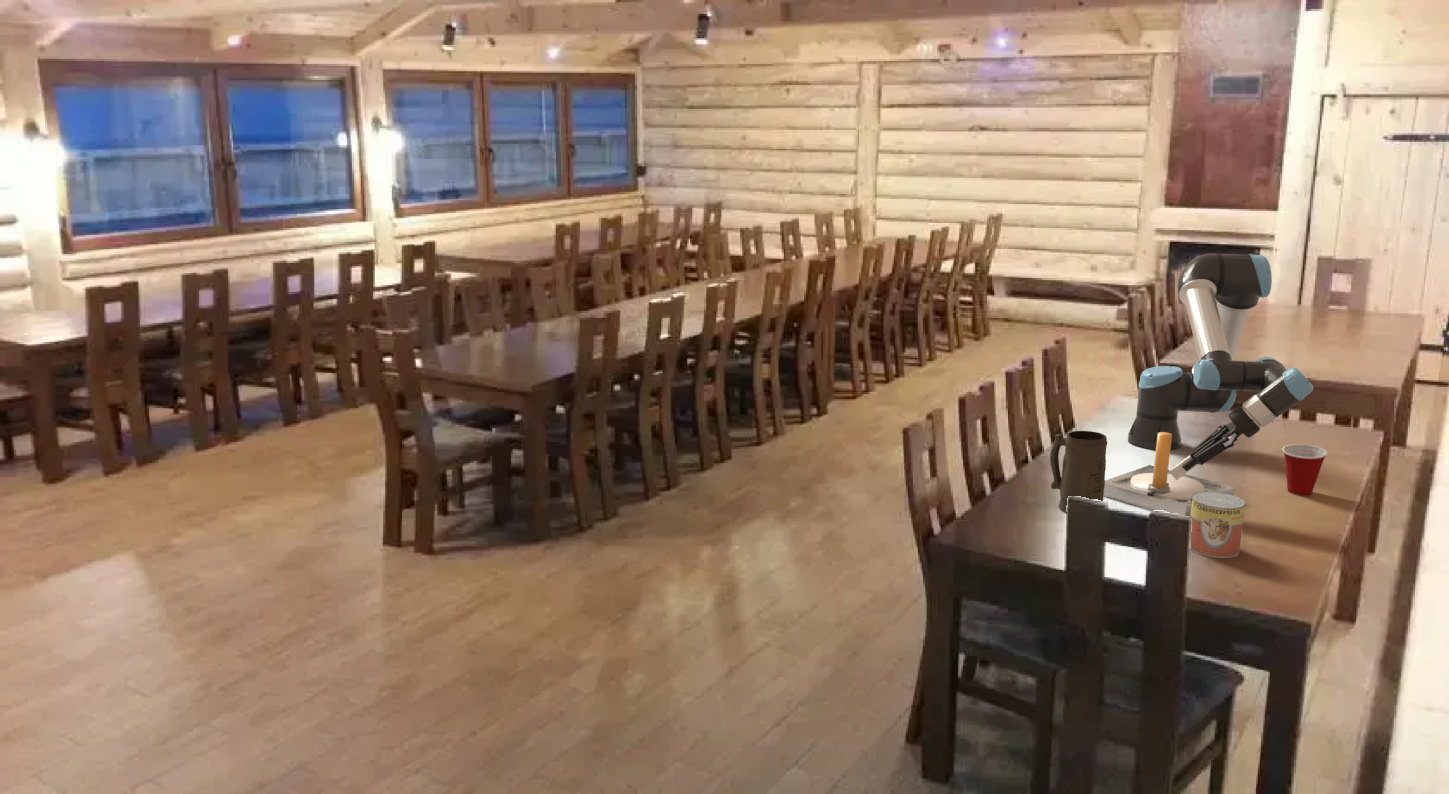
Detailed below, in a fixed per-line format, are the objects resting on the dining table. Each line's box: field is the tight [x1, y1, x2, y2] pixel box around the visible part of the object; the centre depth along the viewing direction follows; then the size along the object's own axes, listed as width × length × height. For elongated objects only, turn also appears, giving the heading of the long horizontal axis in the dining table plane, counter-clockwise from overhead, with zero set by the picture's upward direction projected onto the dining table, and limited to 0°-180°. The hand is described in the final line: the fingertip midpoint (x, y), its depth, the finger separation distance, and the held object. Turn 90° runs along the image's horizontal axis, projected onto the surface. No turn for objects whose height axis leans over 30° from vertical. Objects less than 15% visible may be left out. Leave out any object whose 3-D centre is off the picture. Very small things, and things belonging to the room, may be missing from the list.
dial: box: [1130, 432, 1204, 500], centre depth 294 cm, size 19×18×16 cm
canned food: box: [1189, 492, 1246, 559], centre depth 261 cm, size 11×11×12 cm
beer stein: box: [1049, 430, 1108, 513], centre depth 287 cm, size 15×11×20 cm
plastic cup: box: [1281, 443, 1329, 496], centre depth 300 cm, size 11×11×12 cm
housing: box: [1103, 464, 1235, 516], centre depth 296 cm, size 24×24×4 cm
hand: (1172, 475), depth 289 cm, fingers closed
